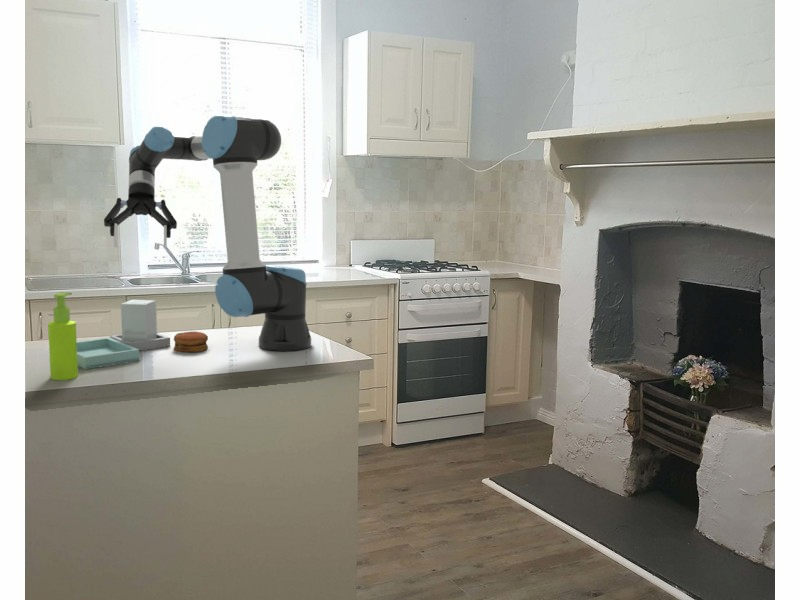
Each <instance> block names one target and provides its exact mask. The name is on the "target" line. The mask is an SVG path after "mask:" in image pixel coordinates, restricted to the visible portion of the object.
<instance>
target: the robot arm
mask: <svg viewBox="0 0 800 600" xmlns="http://www.w3.org/2000/svg"><path fill="white" fill-rule="evenodd" d="M281 145H282V135H281V133H280V130H279V128H278V127H277V125H275V124H274V123H273V122H272V121H271V120H268V119H267V118H266V119H265V118H263V117H253V116H245V115H238V114H232V113H227V114H224V113H222V114H221V113H220V114H216V115H213V116H211V117H210V119H208V121H207V122H206V125H205V126H204V128H203V131H202V134H198V135H197V134H196V135H183V134H182V135H180V134H173V133H172V131H171V130H170V129H168V128H166V127H164V126H161V125H156V126H155V125H154V126H153V127H152V128H151V129H150V130H149V131H148V132H147V133H146V135H145V136H144V138H143V140H142V142H141V143H140V145H136V146H135V147H132V148H131V150H130V152H129V156H128V157H129V158H128V164H129V165H128V167H129V168H128V193H127V194H128V198H127V200H125V199H124V200H122V198H121V197H118V198H116V203H115V204H114V206H113V207H112V208H111V209H110V211H109V212H108V213H107V214H106V216H105V217H104V219H103V225H104V227H109V235H110V237H113V246H114V248H117V247H118V236H119V235H118V232H119V230H118V229H119V227H118V226H119V225H120V224H122V223H123V222H124V221H126V220H127V219H128V218H129V217H132V216H133V215H135V216H139V215H140V216H141V215H142V216H147V215H149V216H150V217H151V218H153V219H154V220H156V222H157V223H158V224H160V225H161V226H162V227H163V249H167V242H168V241H167V239H170V238H172V237H171V235H172V233H171V230H172V229H174V230H176V229H177V227H178V222H177V220H176V218H175V217H174V216H173V214H172V213H171V211H170V210H169V208H168V207H167V203H166V200H164V199H161V201H156V200H155V198H156V197H155V192H156V191H155V185H156V183H155V181H156V180H155V179H156V176H155V173H156V169H157V167H158V166H159V165H160V164H161V162H162V161H163V160H178V161H179V160H184V161H195V162H197V161H198V162H201V161H207V160H209V159H211V160H212V163H213V164H212V165H213V169H215V170H216V171H217V172H218V173H219V176H220V177H219V178H220V189H221V190H220V191H221V199H222V201H221V202H222V210H223V211H222V213H223V221H224V235H225V247H226V257H227V262H226V264H224V266H223V267H222V275H220V277H218V278H217V280H216V283H215V285H214V287H215V289H214V290H215V291H214V292H215V298H216V301H217V304H218V305H219V307H220V308H221V310H223V312H224V313H225V314H226V315H227V316H229V317H232V318H242V317H243V318H248V317H250V316H256V315H261V314H262V315H263V314H264V321H263V324H262V326H261V331H260V335H258V347H260V348H261V349H264V350H266V351H267V350H268V351H277V352H289V351H290V352H292V351H294V352H295V351H300V350H301V351H302V350H304V349H308V348H310V347H311V346H312V336H311V333H310V330H309V327H308V326H309V325H308V323H307V319H306V307H307V305H306V304H307V303H306V300H307V279H306V278H307V276H306V272H305V270H303V269H301V268H296V267H288V266H281V265H279V266H278V265H269V264H268V265H266V264H265V263H264V262H263V261H262V260H261V258H260V246H259V235H258V223H257V222H258V221H257V214H256V213H257V212H256V201H255V199H256V198H255V189H254V186H255V185H254V175H253V171H254V170H255V169H256V167H258V161H266V160H270V159H272V158H273V157H275V156H276V154H278V153H279V150H280V149H281V147H282V146H281ZM125 206H126V207H125ZM124 207H125V209H124V210H123V211H121V210H122V209H123V208H124ZM156 207H157V208H158V209H159V210H160V211H161V212H162V214H163V215H162V214H161V213H160V212H159V211H157V209H156ZM120 211H121V212H120Z"/></svg>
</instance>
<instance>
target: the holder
mask: <svg viewBox="0 0 800 600" xmlns="http://www.w3.org/2000/svg"><path fill="white" fill-rule="evenodd" d="M109 338H111V339H114V340H117V341H119V342H122V343H124V344H127V345H129V346H132V347H134V348H137V349H139V350H142V351H146V350H147V351H149V350H154V349H155V348H156V349H160V348H161V347H162V348H167V347H166V346H169V347H171V337H169V336H166V335H163V334H162V333H161V334H160V333H158V332H157V339H151V340H144V341H137V342H129V341H126V340H124V339H122V333H121V334H114V335H109ZM162 348H161V349H162ZM148 349H149V350H148Z"/></svg>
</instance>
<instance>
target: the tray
mask: <svg viewBox="0 0 800 600" xmlns="http://www.w3.org/2000/svg"><path fill="white" fill-rule="evenodd" d="M140 359H141V358H140V351H139V349H137V348H134V347H132V346H129V345H127V344H124V343H122V342H119V341H117V340H114V339H111V338H110V337H104V338H97V339H88V340H82V341H81V340H80V341H77V364H78V367H79V366H80V368H82V369H83V370H90V369H89V368H91V369H96V368H95V367H98V368H101V367H100V366H104V367H107V366H106V365H110V366H114V365H113V364H116V365H121V364H120V363H122V364H127V363H126V362H129V363H133V362H132V361H135V362H140V361H141V360H140Z"/></svg>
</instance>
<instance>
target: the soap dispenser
mask: <svg viewBox="0 0 800 600" xmlns="http://www.w3.org/2000/svg"><path fill="white" fill-rule="evenodd" d="M72 294H73V293H72V292H64V291H63V292H62V291H61V292H58V293H56V294H54V295H53V297H54V298H56V306H55V307H54V308H53V321H50V322H49V321H48V323H47V326H48V327H47V328H48V329H47V330H48V347H49V348H48V349H49V350H48V351H49V352H48V353H49V367H50V368H49V371H50V379H51V380H55V381H67V380H73V379H75V378H78V376H79V371H78V370H79V369H78V368H79V366H78V364H77V342H78V341H77V323H76V321H74V320H71V317H70V315H71V314H70V307H69V306H68V305H66V297H67V296H72Z"/></svg>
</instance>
